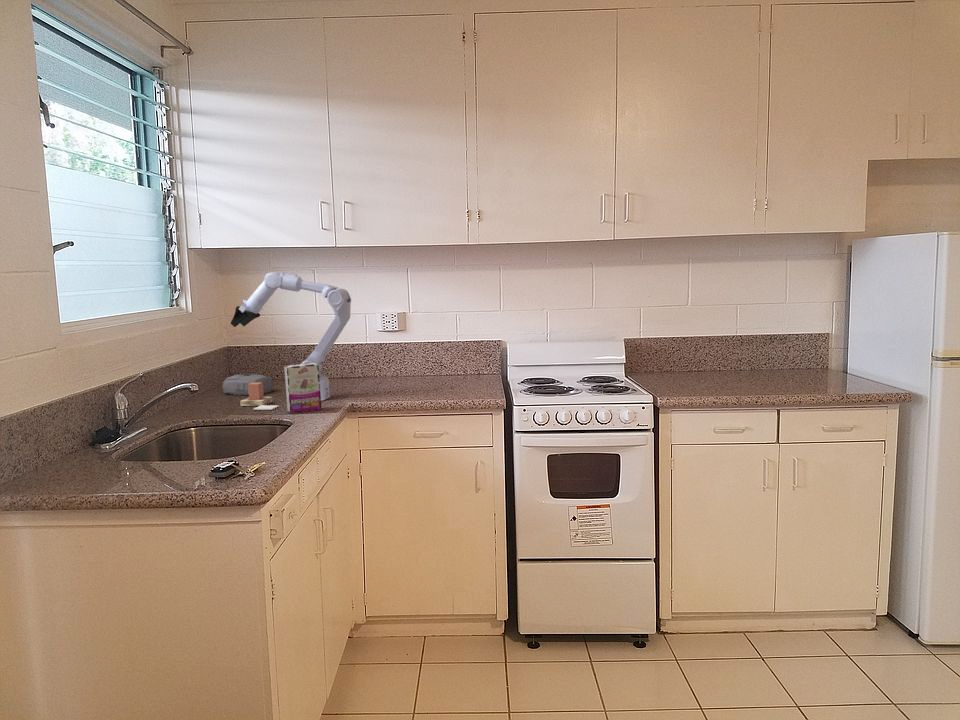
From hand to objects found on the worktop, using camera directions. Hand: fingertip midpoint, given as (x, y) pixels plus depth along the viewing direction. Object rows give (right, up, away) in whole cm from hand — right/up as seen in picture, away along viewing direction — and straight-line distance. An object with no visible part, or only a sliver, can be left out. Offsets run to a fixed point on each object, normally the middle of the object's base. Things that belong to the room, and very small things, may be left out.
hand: (237, 324), depth 274 cm
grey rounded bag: (-3, -27, +20) cm, 34 cm away
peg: (+9, -30, -7) cm, 32 cm away
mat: (+15, -31, -15) cm, 38 cm away
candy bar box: (+30, -31, -21) cm, 48 cm away
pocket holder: (+9, -30, -7) cm, 32 cm away
